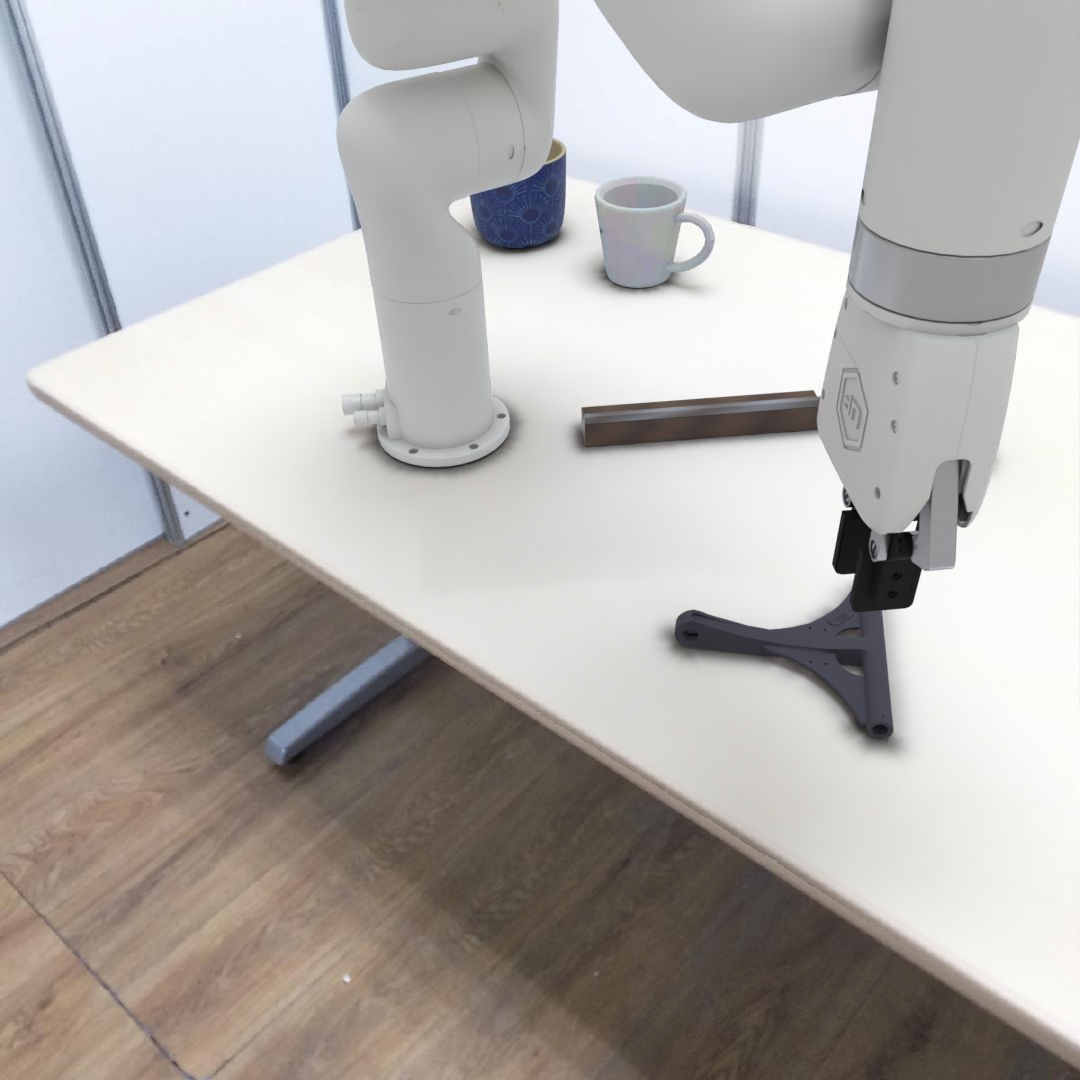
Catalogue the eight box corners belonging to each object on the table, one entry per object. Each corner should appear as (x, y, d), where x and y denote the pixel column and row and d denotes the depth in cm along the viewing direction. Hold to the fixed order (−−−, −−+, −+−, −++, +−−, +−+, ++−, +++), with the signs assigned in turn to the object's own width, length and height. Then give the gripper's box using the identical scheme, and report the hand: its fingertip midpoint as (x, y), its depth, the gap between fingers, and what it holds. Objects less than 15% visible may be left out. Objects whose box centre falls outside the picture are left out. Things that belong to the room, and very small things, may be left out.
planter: (581, 222, 136) (580, 137, 129) (548, 261, 127) (545, 172, 120) (494, 212, 139) (488, 129, 132) (456, 249, 130) (448, 162, 123)
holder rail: (585, 447, 96) (584, 417, 94) (581, 429, 98) (581, 399, 96) (819, 429, 97) (824, 399, 94) (810, 412, 99) (814, 382, 97)
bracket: (682, 575, 82) (684, 549, 80) (877, 594, 79) (883, 566, 77) (665, 715, 71) (667, 688, 69) (890, 741, 68) (898, 713, 67)
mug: (624, 249, 129) (626, 168, 122) (732, 276, 122) (739, 193, 115) (577, 281, 122) (576, 198, 116) (688, 312, 115) (693, 226, 109)
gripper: (802, 195, 49) (763, 501, 61) (925, 364, 37) (846, 708, 49) (957, 184, 49) (889, 492, 61) (1130, 349, 37) (1003, 694, 49)
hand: (870, 585), depth 55 cm, fingers closed
